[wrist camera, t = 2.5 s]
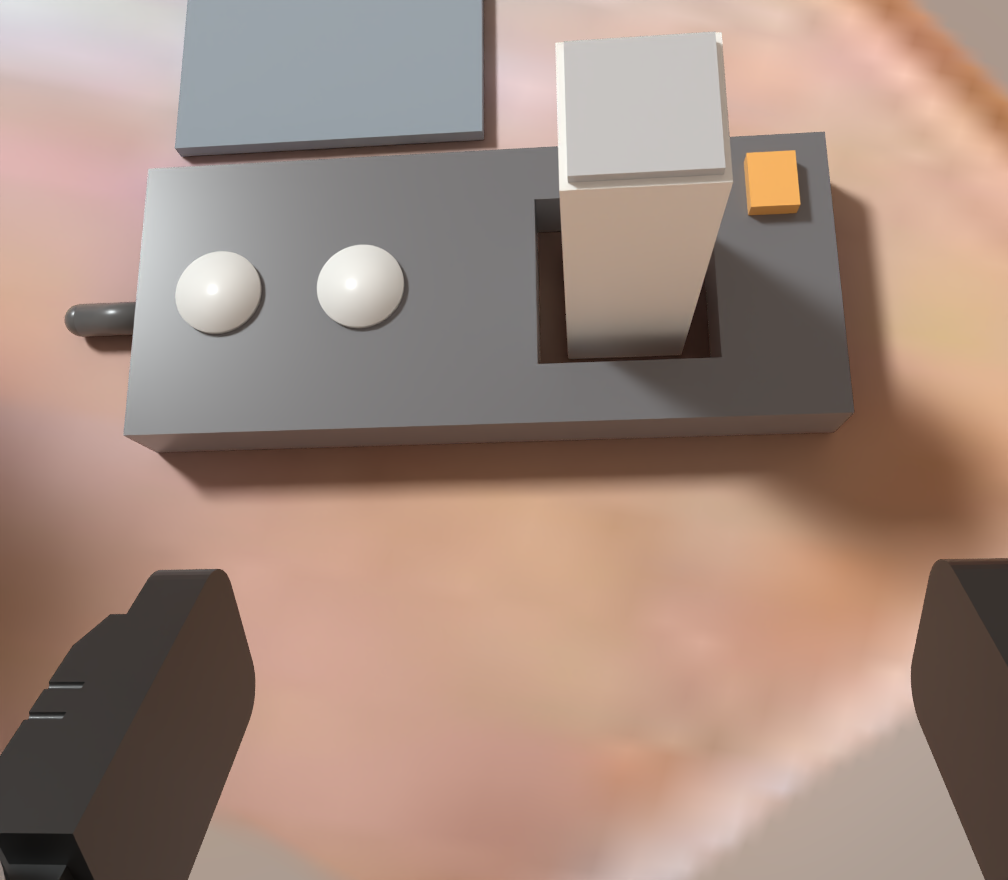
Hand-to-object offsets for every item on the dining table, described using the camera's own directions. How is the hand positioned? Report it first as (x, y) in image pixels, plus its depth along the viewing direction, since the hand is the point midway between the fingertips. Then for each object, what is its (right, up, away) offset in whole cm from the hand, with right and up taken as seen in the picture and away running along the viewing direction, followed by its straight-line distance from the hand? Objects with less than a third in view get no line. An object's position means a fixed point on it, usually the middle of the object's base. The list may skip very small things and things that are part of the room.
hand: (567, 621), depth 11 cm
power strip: (-3, +7, +23) cm, 25 cm away
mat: (-8, +19, +27) cm, 34 cm away
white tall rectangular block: (+4, +7, +23) cm, 24 cm away
